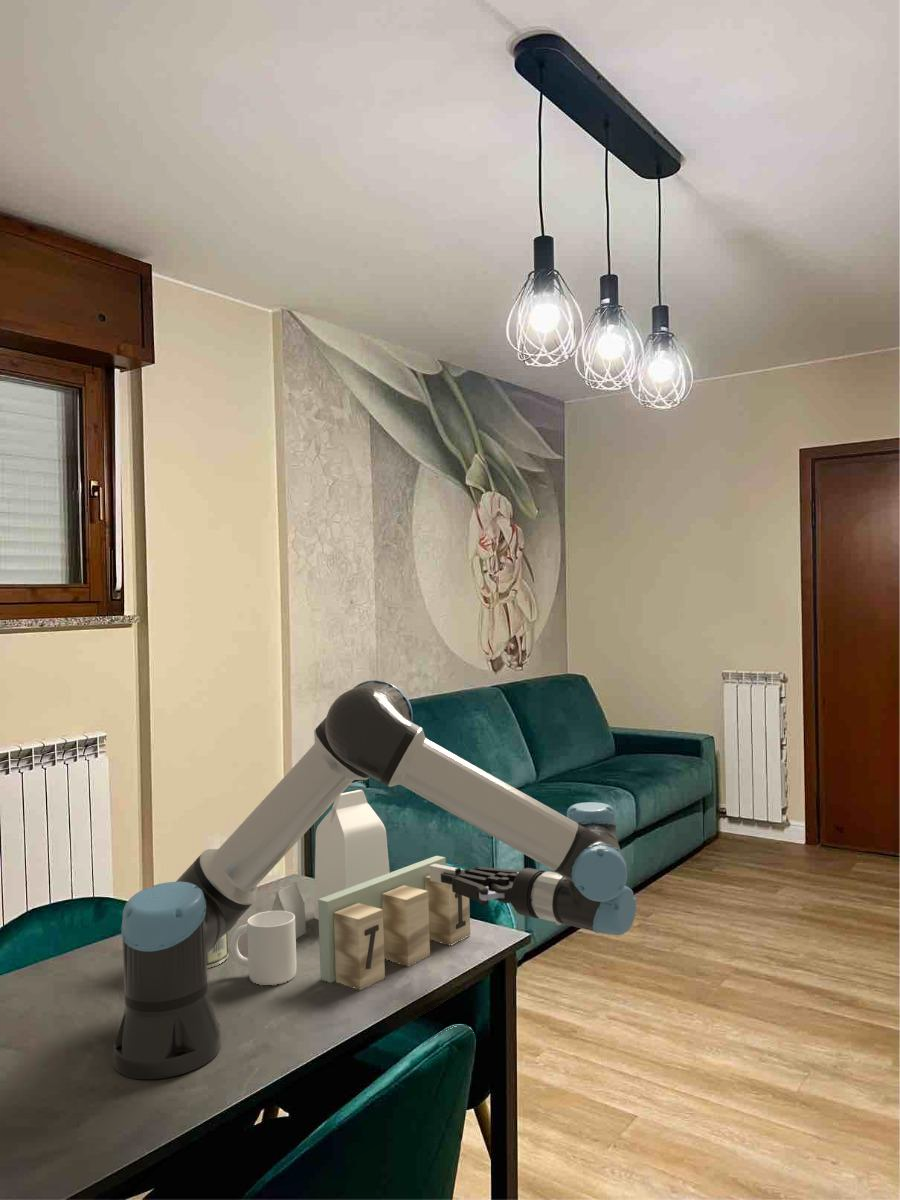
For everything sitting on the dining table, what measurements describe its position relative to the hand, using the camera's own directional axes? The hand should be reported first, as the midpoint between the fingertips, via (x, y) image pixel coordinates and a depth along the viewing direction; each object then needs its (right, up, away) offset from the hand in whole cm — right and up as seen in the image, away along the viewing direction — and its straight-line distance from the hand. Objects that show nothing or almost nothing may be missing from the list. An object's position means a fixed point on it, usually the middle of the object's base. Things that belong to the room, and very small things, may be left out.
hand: (432, 872), depth 162 cm
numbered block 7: (-12, -17, -5) cm, 22 cm away
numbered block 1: (+3, -17, +13) cm, 22 cm away
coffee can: (-43, -18, +6) cm, 47 cm away
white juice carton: (-29, -18, +16) cm, 37 cm away
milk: (-17, -18, +27) cm, 36 cm away
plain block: (-5, -17, +4) cm, 18 cm away
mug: (-30, -18, -2) cm, 35 cm away
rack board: (-8, -17, +7) cm, 20 cm away
